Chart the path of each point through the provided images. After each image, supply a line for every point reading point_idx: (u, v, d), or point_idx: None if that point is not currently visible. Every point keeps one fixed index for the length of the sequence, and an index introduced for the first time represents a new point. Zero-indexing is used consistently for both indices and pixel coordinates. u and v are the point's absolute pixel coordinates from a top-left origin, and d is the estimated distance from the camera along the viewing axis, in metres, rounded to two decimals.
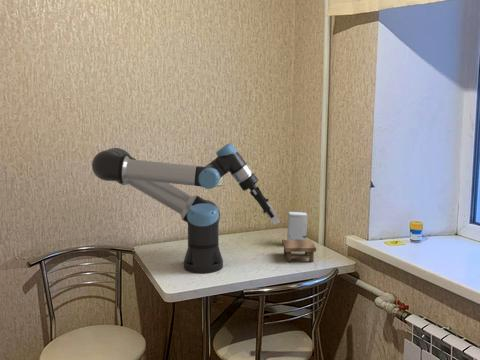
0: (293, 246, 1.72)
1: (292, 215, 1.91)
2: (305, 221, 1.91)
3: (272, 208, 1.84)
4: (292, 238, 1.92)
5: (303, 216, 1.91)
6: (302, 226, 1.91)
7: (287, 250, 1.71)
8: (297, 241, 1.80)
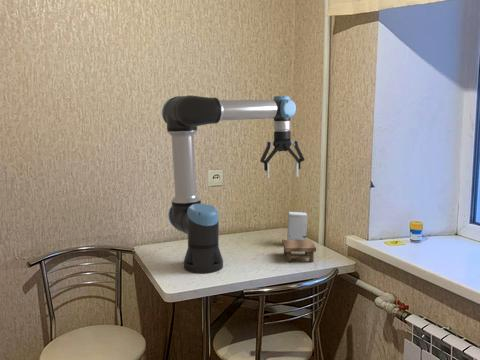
0: (293, 246, 1.72)
1: (292, 215, 1.91)
2: (305, 221, 1.91)
3: None
4: (292, 238, 1.92)
5: (303, 216, 1.91)
6: (302, 226, 1.91)
7: (287, 250, 1.71)
8: (297, 241, 1.80)
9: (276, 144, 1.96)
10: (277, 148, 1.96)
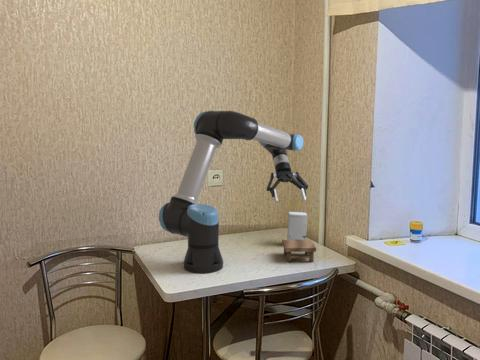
0: (293, 246, 1.72)
1: (292, 215, 1.91)
2: (305, 221, 1.91)
3: None
4: (292, 238, 1.92)
5: (303, 216, 1.91)
6: (302, 226, 1.91)
7: (287, 250, 1.71)
8: (297, 241, 1.80)
9: (279, 174, 2.10)
10: (280, 176, 2.09)
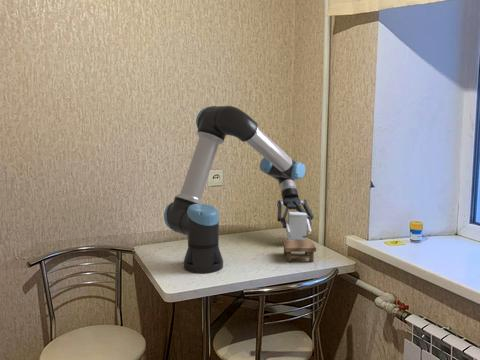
0: (293, 246, 1.72)
1: (292, 215, 1.91)
2: (305, 221, 1.91)
3: None
4: (292, 238, 1.92)
5: (303, 216, 1.91)
6: (302, 226, 1.91)
7: (287, 250, 1.71)
8: (297, 241, 1.80)
9: (286, 201, 2.00)
10: (288, 204, 1.98)
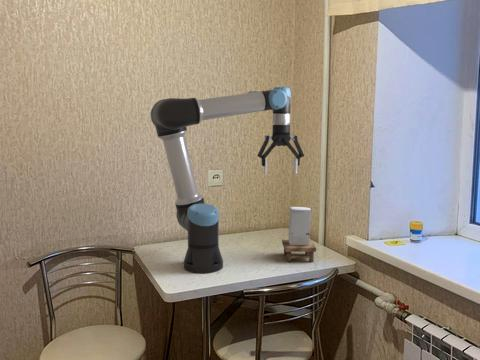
0: (293, 246, 1.72)
1: (294, 210, 1.72)
2: (309, 217, 1.73)
3: None
4: (294, 236, 1.74)
5: (306, 211, 1.72)
6: (305, 222, 1.73)
7: (287, 250, 1.71)
8: None
9: (275, 138, 1.85)
10: (276, 142, 1.85)
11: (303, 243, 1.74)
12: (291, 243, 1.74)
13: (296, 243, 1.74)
